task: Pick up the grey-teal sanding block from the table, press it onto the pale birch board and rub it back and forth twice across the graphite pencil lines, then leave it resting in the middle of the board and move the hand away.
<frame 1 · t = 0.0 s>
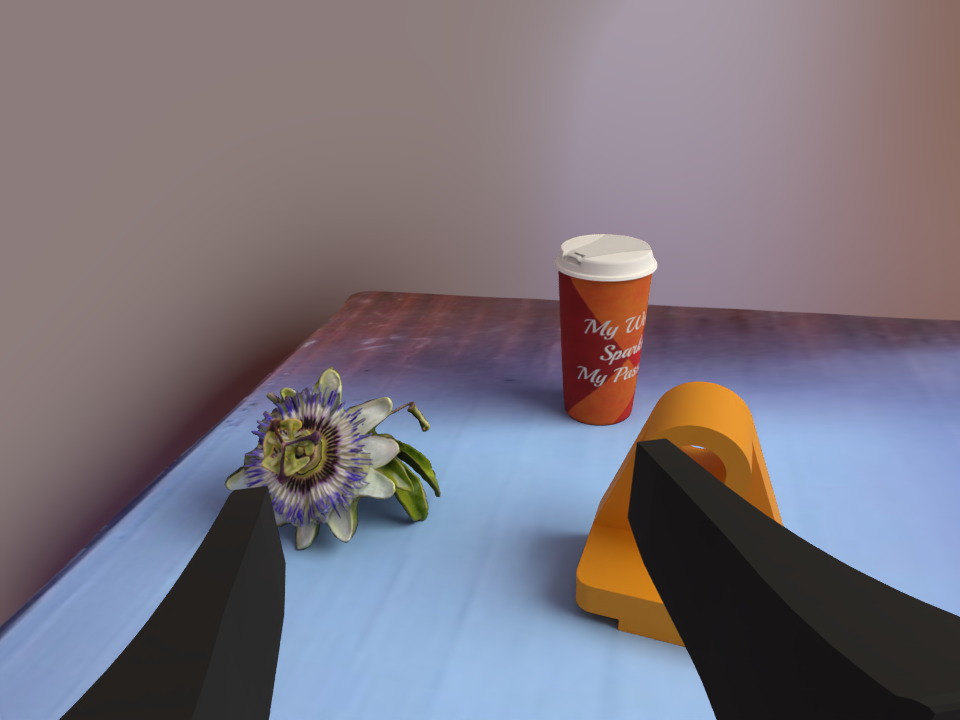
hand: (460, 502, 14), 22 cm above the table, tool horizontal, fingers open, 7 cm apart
bracket: (678, 598, 41), on the table
paper cup: (598, 409, 59), on the table
passion flower: (344, 509, 49), on the table
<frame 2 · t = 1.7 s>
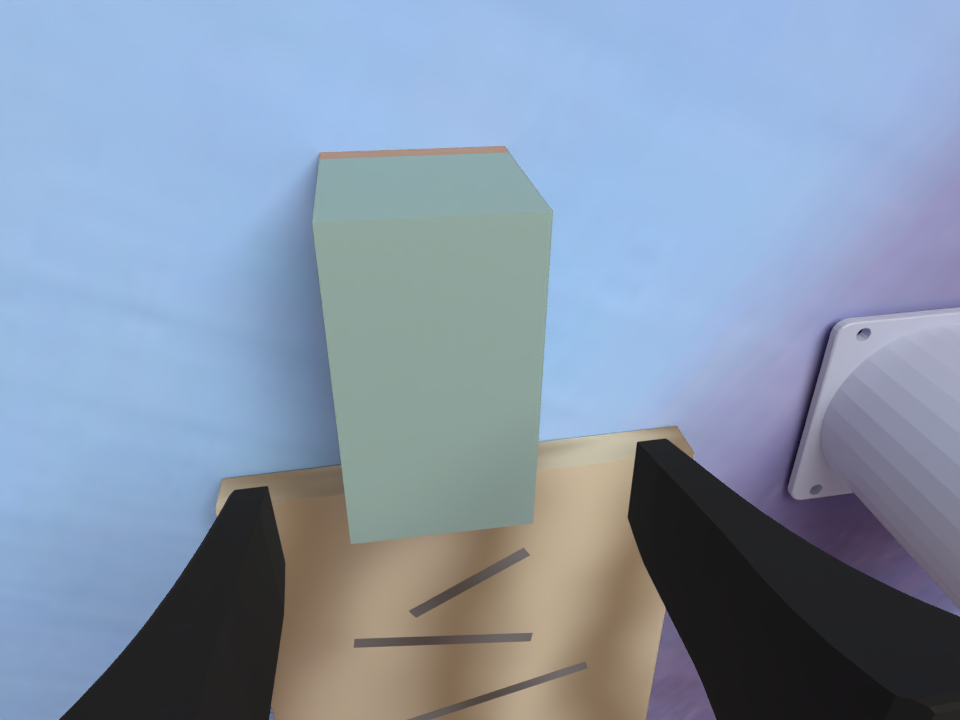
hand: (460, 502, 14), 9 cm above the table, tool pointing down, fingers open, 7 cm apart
birch board: (465, 621, 29), on the table
sanding block: (419, 296, 22), on the table
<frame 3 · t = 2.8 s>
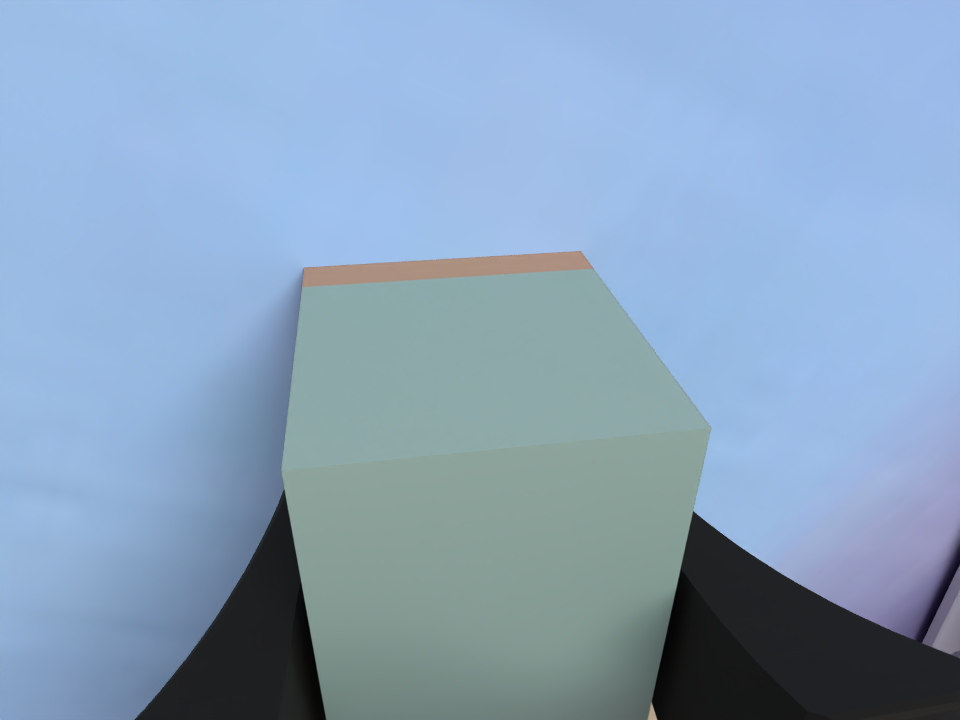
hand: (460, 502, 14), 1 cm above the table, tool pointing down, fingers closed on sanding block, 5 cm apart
sanding block: (450, 455, 15), on the table, touching gripper
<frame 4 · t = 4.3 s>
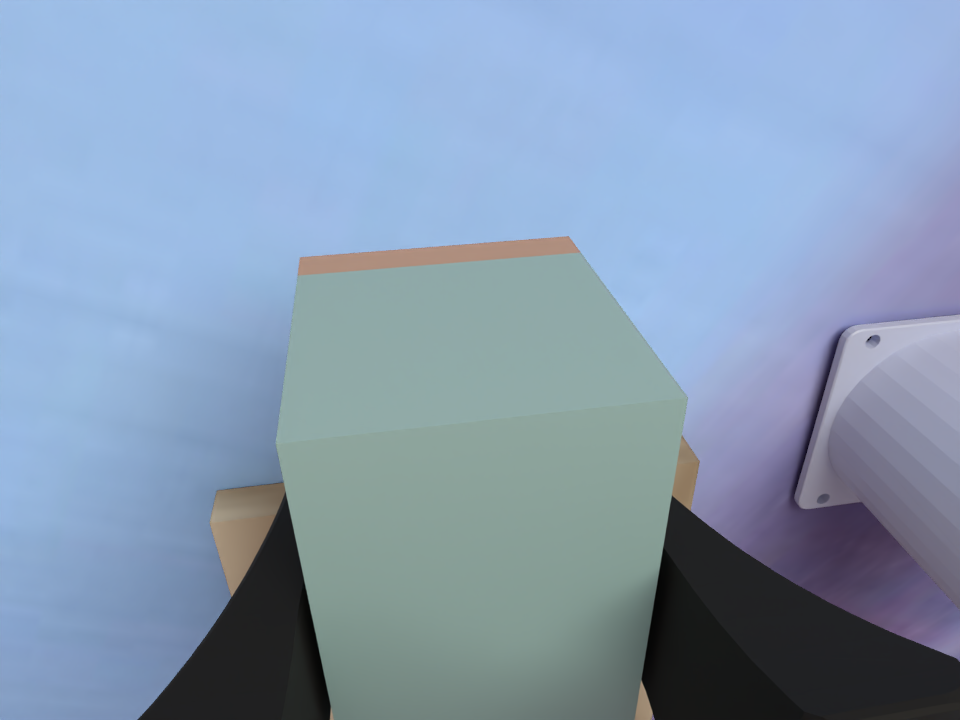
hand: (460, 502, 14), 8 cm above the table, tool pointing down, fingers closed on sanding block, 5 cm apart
birch board: (466, 633, 29), on the table
sanding block: (447, 439, 15), point 6 cm above the table, touching gripper
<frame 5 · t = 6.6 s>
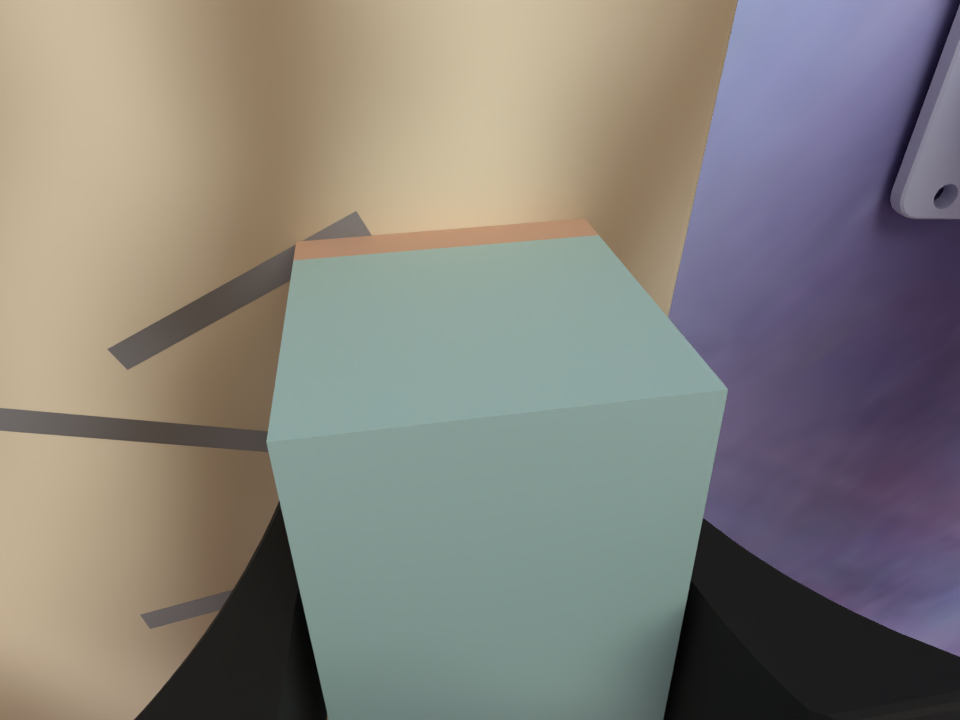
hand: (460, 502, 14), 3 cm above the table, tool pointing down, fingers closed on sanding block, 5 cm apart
birch board: (267, 429, 15), on the table
sanding block: (454, 437, 15), point 2 cm above the table, touching birch board, gripper
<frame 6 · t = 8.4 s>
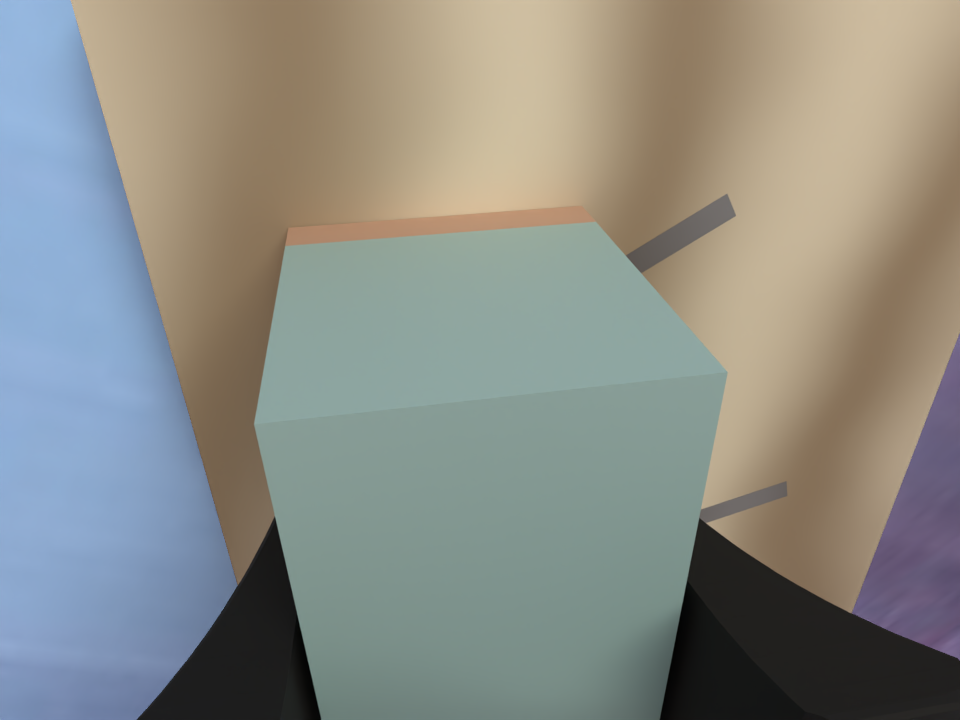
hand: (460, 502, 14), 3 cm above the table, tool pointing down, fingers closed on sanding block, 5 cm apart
birch board: (576, 407, 17), on the table
sanding block: (449, 429, 14), point 2 cm above the table, touching gripper
when the fingers open (3 cm above the table, at t = 12.5 s): sanding block stays where it is, resting on birch board.
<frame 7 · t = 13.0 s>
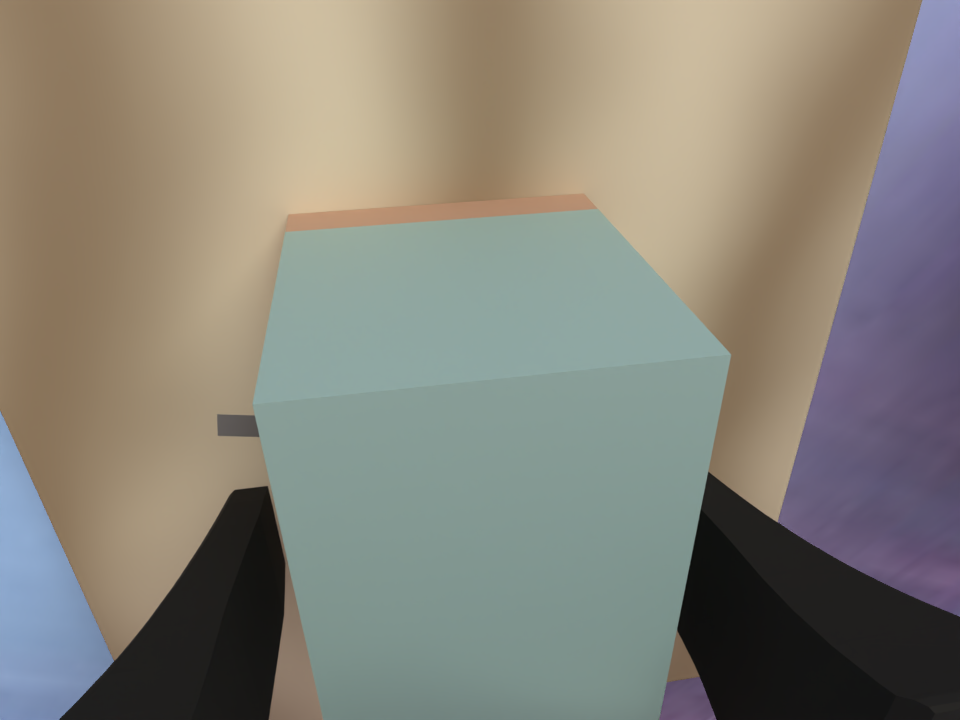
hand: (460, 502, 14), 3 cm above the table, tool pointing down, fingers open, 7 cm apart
birch board: (444, 421, 16), on the table
sanding block: (450, 419, 14), point 2 cm above the table, touching birch board
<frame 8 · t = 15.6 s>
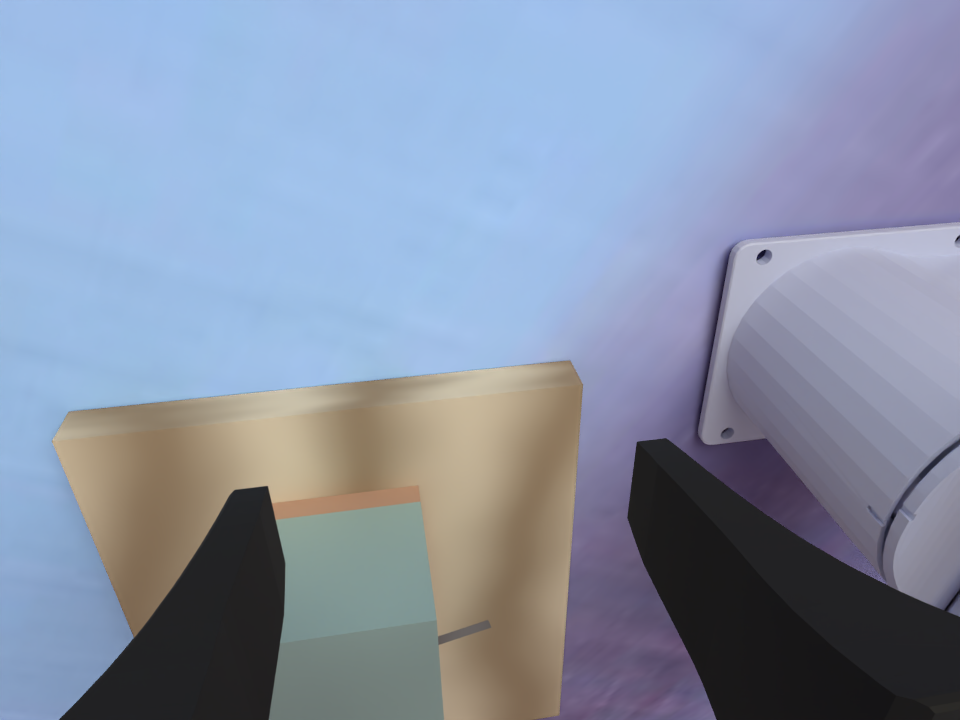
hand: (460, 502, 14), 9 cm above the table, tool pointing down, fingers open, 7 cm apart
birch board: (360, 577, 28), on the table
sanding block: (357, 587, 26), point 2 cm above the table, touching birch board
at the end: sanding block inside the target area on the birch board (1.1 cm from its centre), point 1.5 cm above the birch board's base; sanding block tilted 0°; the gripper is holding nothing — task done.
